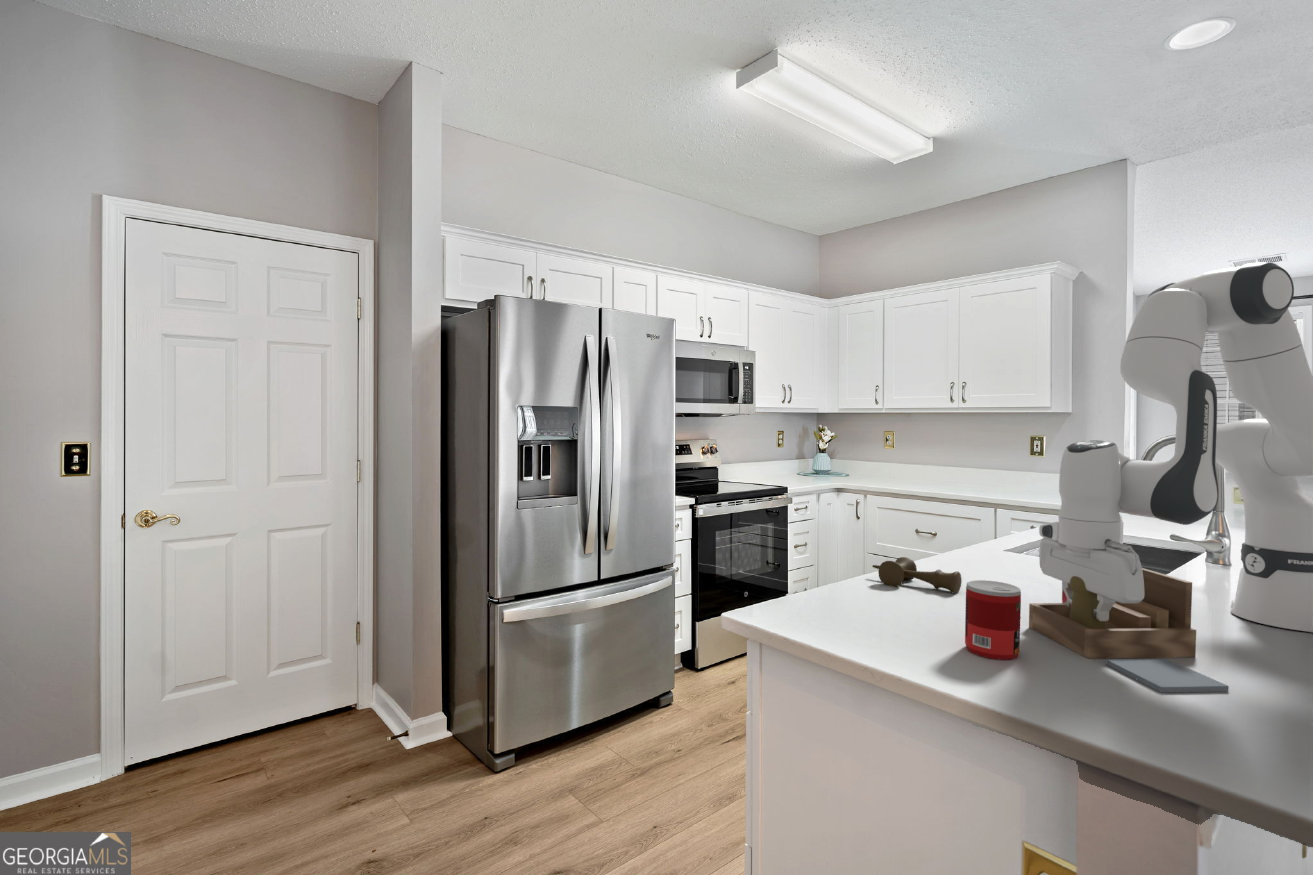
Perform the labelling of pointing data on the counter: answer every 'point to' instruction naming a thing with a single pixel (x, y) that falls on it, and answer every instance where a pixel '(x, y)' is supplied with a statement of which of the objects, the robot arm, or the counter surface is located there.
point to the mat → (1167, 675)
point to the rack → (1126, 641)
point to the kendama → (916, 575)
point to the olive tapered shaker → (1084, 605)
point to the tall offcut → (1150, 613)
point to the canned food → (993, 619)
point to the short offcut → (1126, 618)
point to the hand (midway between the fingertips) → (1087, 614)
